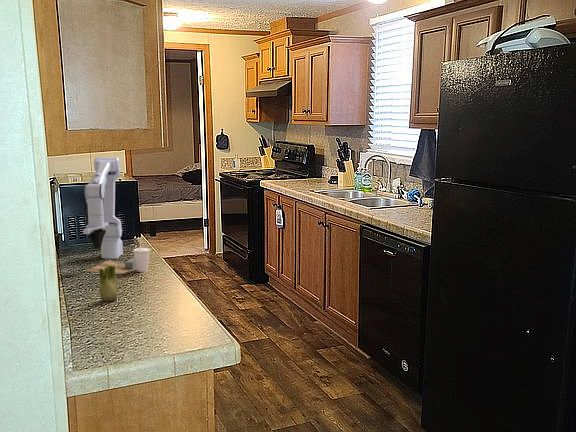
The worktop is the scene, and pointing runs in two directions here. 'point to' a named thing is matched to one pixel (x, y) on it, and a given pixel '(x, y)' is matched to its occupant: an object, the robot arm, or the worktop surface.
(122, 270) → the laid strip
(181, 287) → the worktop surface
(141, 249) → the smoothie
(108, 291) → the fennel bulb
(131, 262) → the block
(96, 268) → the board
